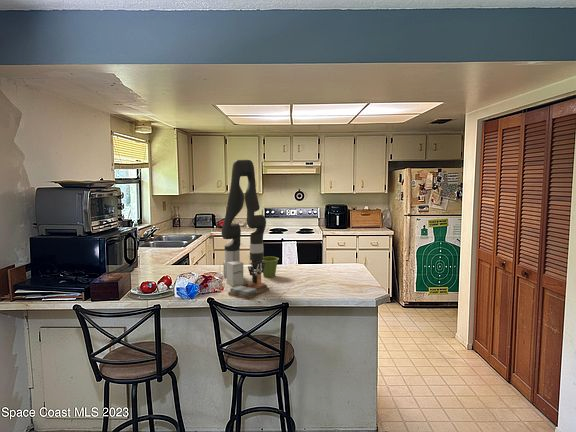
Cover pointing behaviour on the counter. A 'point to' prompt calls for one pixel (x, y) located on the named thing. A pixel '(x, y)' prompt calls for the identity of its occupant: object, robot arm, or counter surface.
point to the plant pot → (270, 266)
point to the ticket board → (259, 291)
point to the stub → (258, 284)
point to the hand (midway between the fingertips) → (256, 281)
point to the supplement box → (235, 273)
